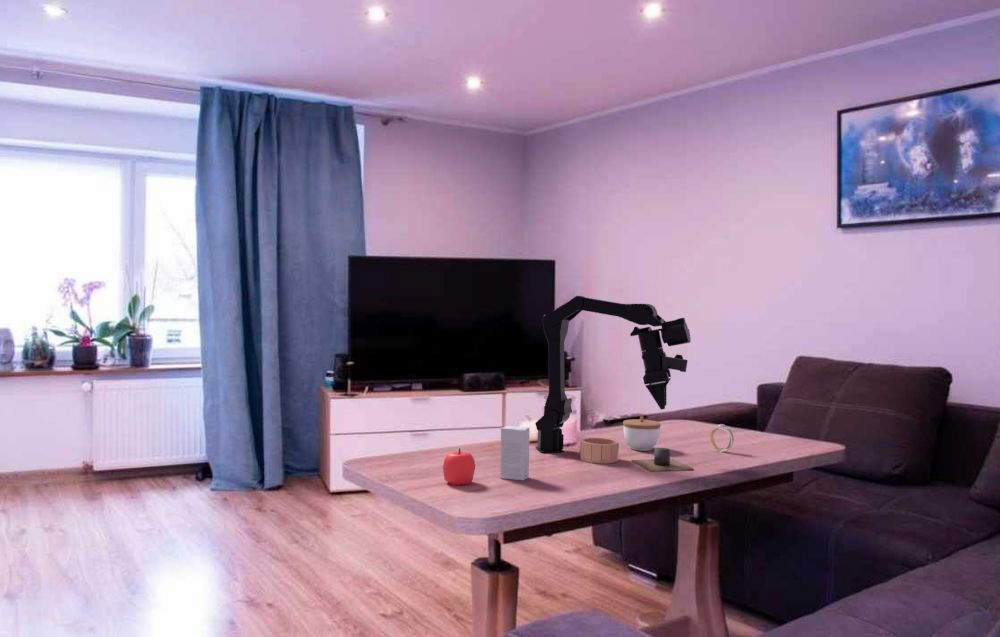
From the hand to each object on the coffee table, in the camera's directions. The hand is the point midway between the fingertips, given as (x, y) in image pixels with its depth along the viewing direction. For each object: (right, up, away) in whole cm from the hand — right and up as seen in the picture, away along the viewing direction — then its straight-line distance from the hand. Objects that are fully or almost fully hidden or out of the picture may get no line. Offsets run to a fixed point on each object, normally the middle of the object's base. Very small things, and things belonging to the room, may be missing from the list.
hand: (663, 407), depth 197 cm
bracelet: (+21, -15, +18) cm, 31 cm away
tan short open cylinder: (-17, -14, +3) cm, 22 cm away
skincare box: (-40, -15, -20) cm, 47 cm away
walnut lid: (-1, -16, -3) cm, 16 cm away
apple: (-53, -14, -27) cm, 61 cm away
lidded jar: (-2, -15, +19) cm, 24 cm away
